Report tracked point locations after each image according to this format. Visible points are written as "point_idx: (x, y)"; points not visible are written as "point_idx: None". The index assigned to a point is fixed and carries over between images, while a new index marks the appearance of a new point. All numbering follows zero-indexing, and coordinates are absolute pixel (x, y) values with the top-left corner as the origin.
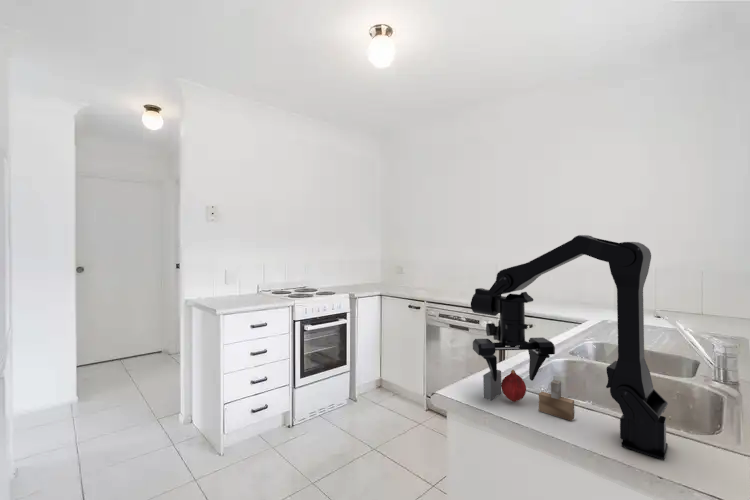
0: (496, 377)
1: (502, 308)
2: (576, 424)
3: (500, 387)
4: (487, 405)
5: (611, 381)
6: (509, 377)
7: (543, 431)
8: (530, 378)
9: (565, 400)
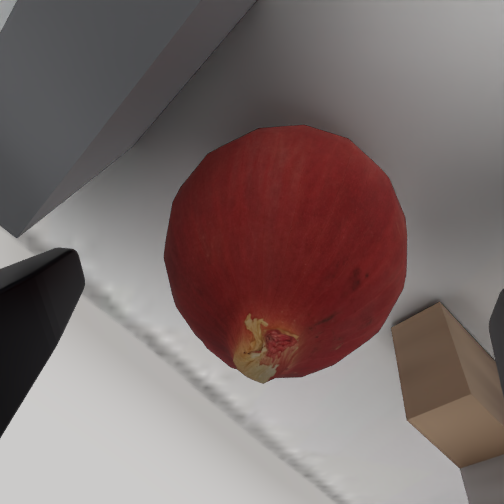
0: (59, 332)
1: None
2: None
3: (236, 14)
4: (98, 214)
5: None
6: (206, 344)
7: (294, 448)
8: (501, 314)
9: None
